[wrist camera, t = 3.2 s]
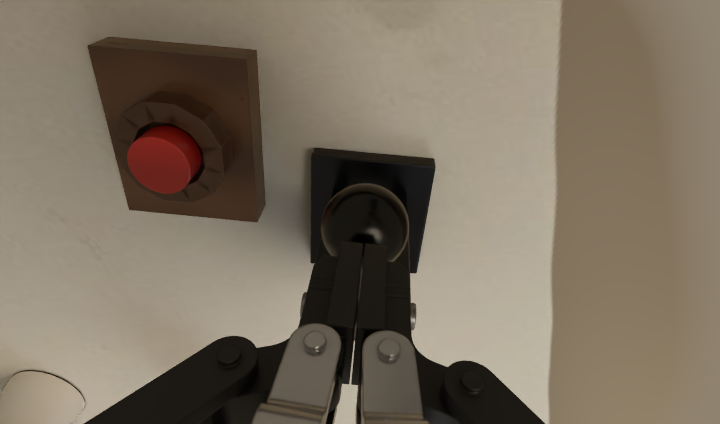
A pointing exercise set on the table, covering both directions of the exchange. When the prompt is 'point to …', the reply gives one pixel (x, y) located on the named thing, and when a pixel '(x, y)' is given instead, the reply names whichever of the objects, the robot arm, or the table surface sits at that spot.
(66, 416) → the cup
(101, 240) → the table surface
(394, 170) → the switch bracket
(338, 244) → the switch lever
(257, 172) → the button block
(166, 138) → the button
